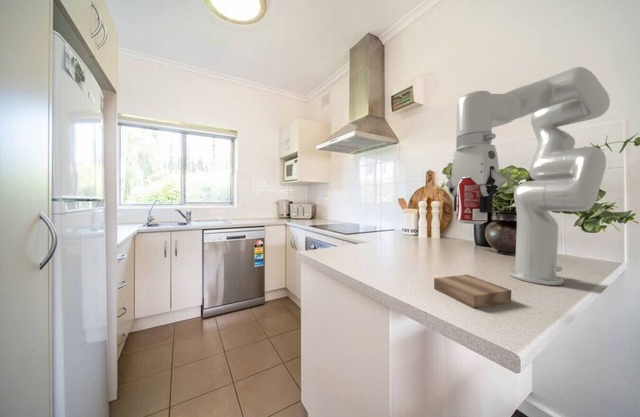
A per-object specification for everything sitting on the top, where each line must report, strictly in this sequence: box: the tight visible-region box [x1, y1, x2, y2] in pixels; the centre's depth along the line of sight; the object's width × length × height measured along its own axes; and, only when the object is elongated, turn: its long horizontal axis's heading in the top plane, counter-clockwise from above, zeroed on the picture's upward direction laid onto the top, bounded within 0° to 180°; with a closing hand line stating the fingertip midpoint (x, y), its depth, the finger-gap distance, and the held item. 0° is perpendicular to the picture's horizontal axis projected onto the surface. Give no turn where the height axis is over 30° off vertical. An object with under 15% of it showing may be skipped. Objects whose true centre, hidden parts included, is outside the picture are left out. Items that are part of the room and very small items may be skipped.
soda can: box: [456, 177, 489, 225], centre depth 58 cm, size 7×7×12 cm
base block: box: [433, 274, 512, 309], centre depth 59 cm, size 12×12×3 cm
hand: (471, 211), depth 58 cm, fingers closed on soda can, 6 cm apart
